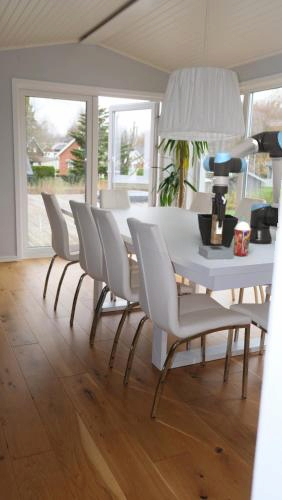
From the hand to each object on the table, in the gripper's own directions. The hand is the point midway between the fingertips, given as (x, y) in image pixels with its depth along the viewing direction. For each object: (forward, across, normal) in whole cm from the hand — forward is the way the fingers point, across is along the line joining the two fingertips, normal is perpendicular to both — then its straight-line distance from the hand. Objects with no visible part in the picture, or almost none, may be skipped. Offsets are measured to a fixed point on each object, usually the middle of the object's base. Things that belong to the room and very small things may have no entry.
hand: (216, 233), depth 220 cm
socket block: (+12, 0, 0) cm, 12 cm away
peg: (+5, 0, 0) cm, 5 cm away
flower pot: (+12, -28, +11) cm, 32 cm away
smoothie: (+12, -2, +14) cm, 19 cm away
